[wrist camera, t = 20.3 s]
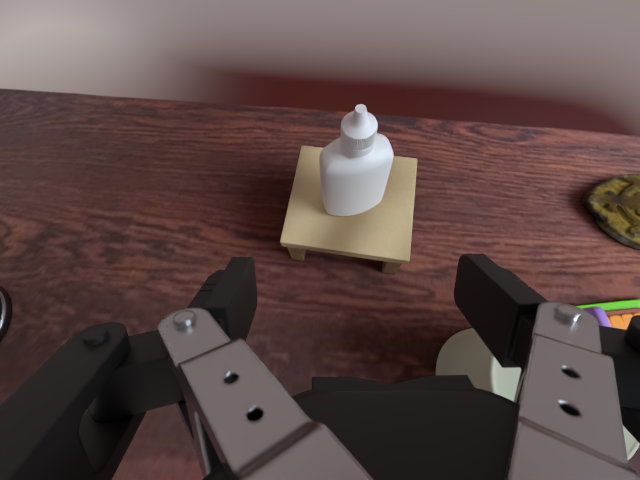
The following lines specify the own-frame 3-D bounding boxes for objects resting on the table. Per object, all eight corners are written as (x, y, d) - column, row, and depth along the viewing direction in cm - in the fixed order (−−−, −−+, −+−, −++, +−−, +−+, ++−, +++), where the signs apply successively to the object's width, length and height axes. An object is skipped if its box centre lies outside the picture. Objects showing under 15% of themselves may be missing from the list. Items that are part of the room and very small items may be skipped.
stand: (288, 261, 35) (279, 242, 30) (306, 176, 39) (301, 145, 33) (397, 277, 34) (409, 261, 28) (405, 189, 38) (417, 158, 32)
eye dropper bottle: (329, 175, 32) (325, 75, 21) (384, 186, 31) (411, 89, 20) (318, 213, 30) (307, 128, 19) (375, 226, 30) (400, 145, 19)
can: (519, 325, 32) (619, 306, 21) (548, 429, 29) (685, 475, 17) (427, 331, 32) (476, 316, 21) (445, 436, 29) (516, 485, 18)
